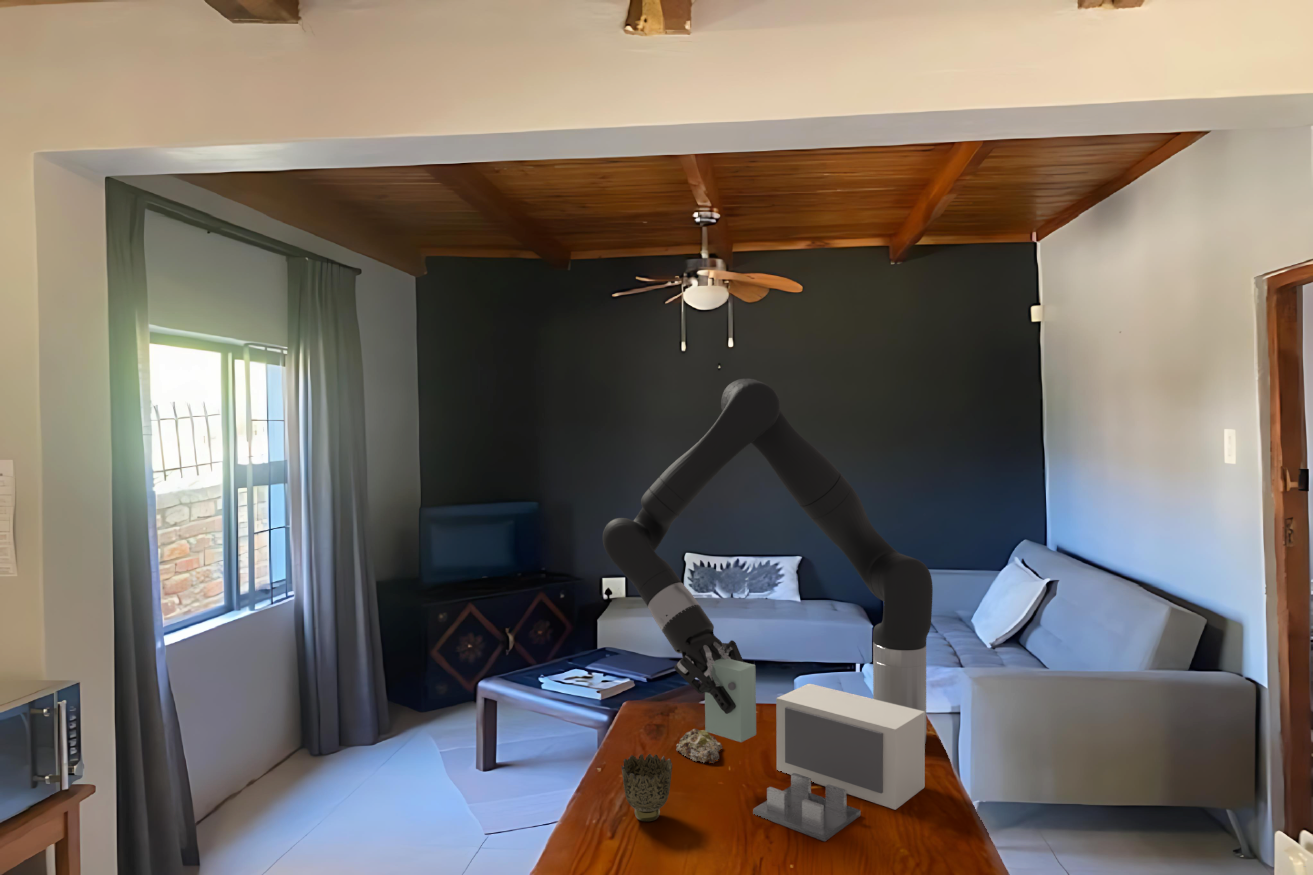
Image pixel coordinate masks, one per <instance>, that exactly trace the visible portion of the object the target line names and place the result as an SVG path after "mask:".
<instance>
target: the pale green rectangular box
mask: <svg viewBox="0 0 1313 875" xmlns="http://www.w3.org/2000/svg"><path fill="white" fill-rule="evenodd" d="M714 663H715V664H712V665H713V666H714V668H715V670H716V672H715V673H716V675H717V677H718V678H719V680H720V682H721V686H723V687H724V688H725V689H726V691H727V692H728V694H729V695H730V697H731V698H732V700H733V701H734V703H735V705H736V707H735V709H733V710H732V711H731V712H730V713H728V714H726V713H725V712H724V711H723V710H722V709H721V708H720V707H719V705H718V703H717V702H716V701H715V699H714V698H713V696H712V695H710V694H708V693H704V715H705V716H704V725H705V726H704V727H705V728H704V730H705V731H706V732H708V733H709V734H713V735H716V736H719V737H722V738H726V739H729V740H731V741H736V742H738V743H743V742H745V741H746V740H749V739H751V738H753V737H754V736H756V735H757V699H756V698H757V696H756V695H757V693H756V692H757V689H756V688H757V687H756V685H757V684H756V683H757V681H756V665H755V664H753V663H748V662H745V661H743V662H740V661H736V660H732V659H718V660H716V661H714ZM707 670H708V669H707ZM707 670H706V671H707ZM706 671H705V672H706ZM705 672H704V673H705ZM709 680H710V681H712V680H711V678H709Z"/></svg>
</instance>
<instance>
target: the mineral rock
mask: <svg viewBox="0 0 1313 875" xmlns="http://www.w3.org/2000/svg"><path fill="white" fill-rule="evenodd" d="M720 749H722V750H723V745H722V743H721V742H719V741H718V740H717V738H716V736H714V735H711V733H709V732H706V731H705V729H702V730H699V729H698V728H693V729H691V730H690V731H687V732H685V734H684V735H683V736H682V737H681V738H680V739H679V743H677V744H676V749H675V750H676V752H678V751H679V752H678V753H680V754H681V755H682V756H683V755H684V756H683V757H685V756H686V757H685V758H688V759H689V758H690V760H691V759H692V760H691V761H692V762H694V761H695V763H696V762H697V761H700V763H702V762H703V763H702V764H704V763H705V762H711V763H713V764H714V763H716V761H715V760H718V759H719V760H720V754H719V752H720V751H719V750H720ZM719 760H718V761H719ZM697 763H698V762H697ZM705 764H706V763H705Z"/></svg>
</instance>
